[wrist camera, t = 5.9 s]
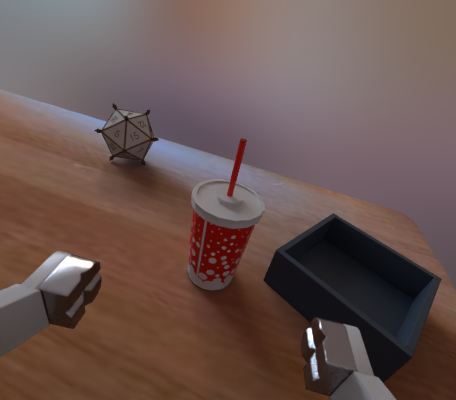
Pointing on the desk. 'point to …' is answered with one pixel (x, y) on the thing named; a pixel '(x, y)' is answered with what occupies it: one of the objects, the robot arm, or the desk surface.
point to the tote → (357, 288)
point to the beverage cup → (221, 227)
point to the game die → (128, 134)
